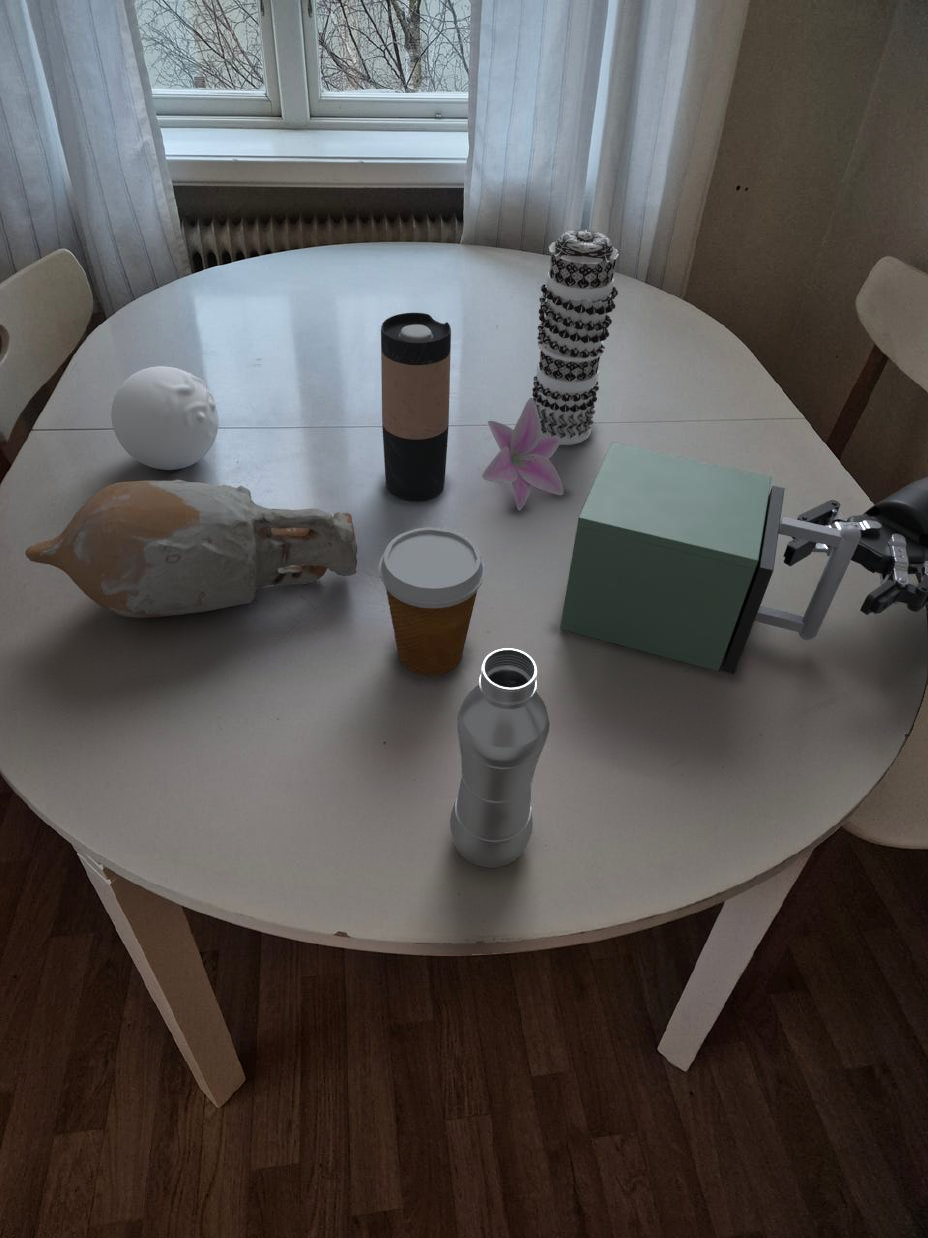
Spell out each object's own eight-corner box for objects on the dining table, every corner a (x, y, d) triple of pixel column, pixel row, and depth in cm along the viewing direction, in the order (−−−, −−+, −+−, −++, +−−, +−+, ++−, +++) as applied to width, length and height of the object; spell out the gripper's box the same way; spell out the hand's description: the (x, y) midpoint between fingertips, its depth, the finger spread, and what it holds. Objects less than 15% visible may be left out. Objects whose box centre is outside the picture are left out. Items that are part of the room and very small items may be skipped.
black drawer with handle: (814, 605, 92) (864, 489, 81) (807, 694, 82) (863, 575, 72) (611, 555, 96) (636, 439, 86) (583, 634, 87) (606, 514, 77)
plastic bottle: (439, 868, 67) (447, 696, 53) (460, 797, 72) (472, 624, 58) (520, 887, 66) (550, 718, 52) (536, 815, 71) (566, 642, 57)
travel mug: (384, 503, 102) (380, 343, 88) (383, 467, 107) (379, 311, 93) (448, 502, 102) (454, 343, 89) (444, 466, 108) (449, 311, 94)
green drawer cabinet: (734, 584, 94) (771, 476, 84) (718, 671, 84) (758, 560, 74) (591, 549, 97) (611, 441, 87) (559, 629, 87) (578, 517, 78)
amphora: (11, 472, 81) (323, 404, 82) (89, 574, 94) (357, 514, 95) (-5, 586, 73) (339, 509, 74) (82, 680, 86) (374, 614, 87)
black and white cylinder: (592, 450, 112) (625, 255, 95) (521, 441, 113) (542, 246, 96) (596, 416, 119) (628, 227, 102) (530, 407, 120) (550, 219, 103)
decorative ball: (198, 496, 101) (180, 405, 93) (105, 479, 103) (78, 388, 94) (241, 444, 109) (227, 356, 101) (154, 429, 111) (133, 342, 103)
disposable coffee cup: (388, 694, 80) (386, 597, 72) (375, 624, 87) (372, 528, 78) (488, 682, 81) (497, 586, 73) (468, 614, 88) (474, 520, 80)
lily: (462, 518, 102) (500, 474, 94) (450, 436, 106) (485, 387, 99) (549, 530, 107) (591, 489, 99) (534, 451, 112) (573, 406, 104)
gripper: (870, 458, 90) (775, 511, 82) (1002, 526, 82) (911, 591, 74) (845, 516, 95) (754, 571, 87) (967, 586, 87) (879, 653, 79)
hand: (826, 581), depth 81 cm, fingers open, 8 cm apart
